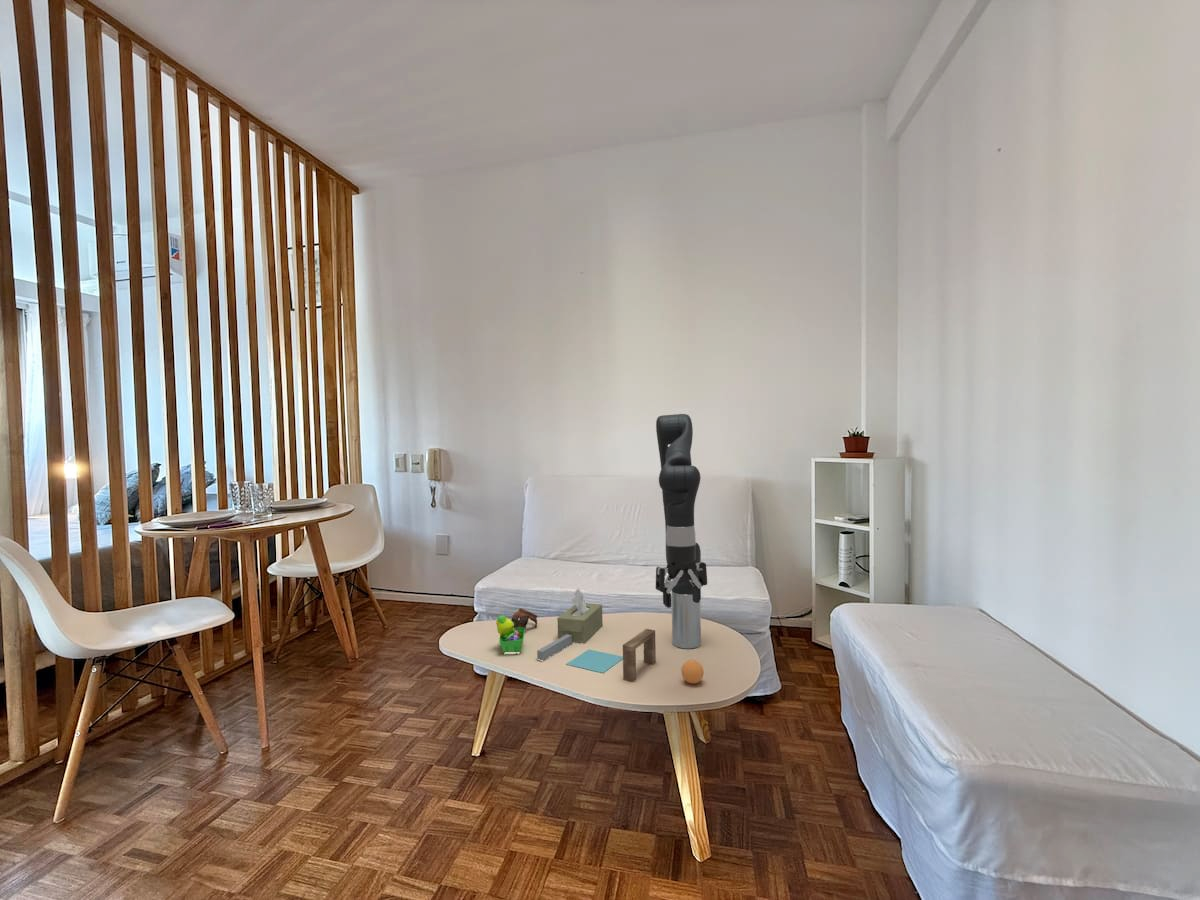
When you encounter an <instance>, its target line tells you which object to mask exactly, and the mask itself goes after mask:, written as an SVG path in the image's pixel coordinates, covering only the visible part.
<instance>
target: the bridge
mask: <svg viewBox="0 0 1200 900" xmlns="http://www.w3.org/2000/svg"><path fill="white" fill-rule="evenodd" d="M641 645H642V646H643V663H644V664H647V665H652V666H654V665H655V664H656V663H657V661H656V660H657V658H656V657H657V656H656V649H657V648H656V645H657V644H656V630H655V629H652V628H650V629H649V628H645V629H644V630H643V631H641V632H638V634H637V635H635V636H634V637H632V638H631V639H629V640H628V641H626V642H625V643H624V644H622V656H623V659H622V667H623V668H622V677H623V679H622V681H627V682H631V683H633V682H635V681H636V680H637V660H636V659H637V657H636V655H637V653H636V652H637V651H636V649H638V648H639V647H640V646H641Z"/></svg>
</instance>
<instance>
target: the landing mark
mask: <svg viewBox="0 0 1200 900" xmlns="http://www.w3.org/2000/svg"><path fill="white" fill-rule="evenodd" d="M621 661H623V655H622V656H621V655H619V654H618V655H617V654H613V653H609V652H608V653H607V652H603V651H598V650H594V649H590V648H589V649H587V650H586V651H584V652H582V653H581V654H579V655H577V656H576V657H575V658H572V659H571V660H570V661H568V662H566V664H567V665H566V666H569V665H571V666H570V667H574V666H575V667H574V668H578V667H579V669H582V668H583V670H587V671H591V672H596V673H599V672H600V674H605V673H606V672H607V671H608V670H610V669H611V668H613V667H614V666H615V665H617V664H618V663H620V662H621Z"/></svg>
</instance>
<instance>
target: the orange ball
mask: <svg viewBox="0 0 1200 900" xmlns="http://www.w3.org/2000/svg"><path fill="white" fill-rule="evenodd" d="M680 671H681V676H682V678H683V680H685V682H687V683H689V684H698V683H699V682H701V681H702V679H703V677H704V668H703V665H702V664H701V663H700V662H699V661H697V660H694V659H689V660H687V661H685V662H684V663H683V664H682V665H681V670H680Z"/></svg>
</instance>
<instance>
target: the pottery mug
mask: <svg viewBox="0 0 1200 900" xmlns="http://www.w3.org/2000/svg"><path fill="white" fill-rule="evenodd" d="M510 620H511V621H512V622H513V623H514V627H513V628H525V629H526V627H527V625H528V623H529V620H530V621H531V622H534V624H535V625H534V628H535V627H536V628H537V626H538V615H537V614H536V613H532V612H531V611H529V610H526V609H524V608H522V607H521V608H520V607H519V609H518V611H516V612H514V613H513V615H512V617H511V619H510Z"/></svg>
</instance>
